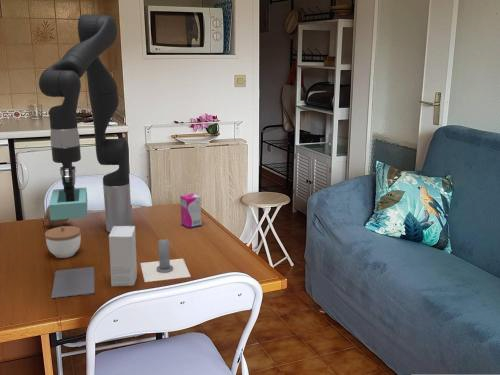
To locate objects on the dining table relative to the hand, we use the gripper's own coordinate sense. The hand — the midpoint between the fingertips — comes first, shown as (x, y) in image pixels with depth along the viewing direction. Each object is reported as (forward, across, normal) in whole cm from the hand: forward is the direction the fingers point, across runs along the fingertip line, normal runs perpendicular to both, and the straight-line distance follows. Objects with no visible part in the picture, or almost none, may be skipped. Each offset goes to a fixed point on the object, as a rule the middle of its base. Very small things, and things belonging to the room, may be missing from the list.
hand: (70, 204), depth 151 cm
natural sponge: (+21, -45, -7) cm, 50 cm away
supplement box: (+21, -33, +40) cm, 56 cm away
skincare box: (+21, +11, +13) cm, 27 cm away
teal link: (0, +7, 0) cm, 7 cm away
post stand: (+21, +7, +25) cm, 33 cm away
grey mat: (+21, +7, 0) cm, 22 cm away
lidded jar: (+21, -16, -4) cm, 27 cm away
